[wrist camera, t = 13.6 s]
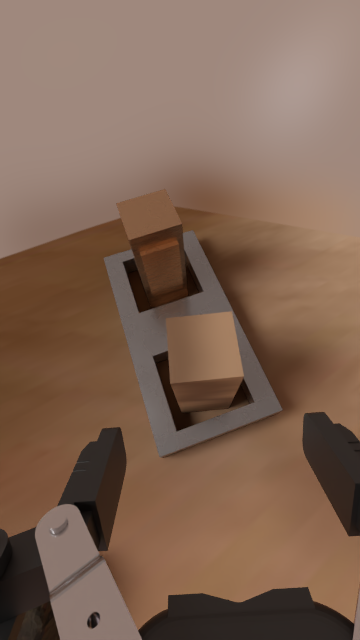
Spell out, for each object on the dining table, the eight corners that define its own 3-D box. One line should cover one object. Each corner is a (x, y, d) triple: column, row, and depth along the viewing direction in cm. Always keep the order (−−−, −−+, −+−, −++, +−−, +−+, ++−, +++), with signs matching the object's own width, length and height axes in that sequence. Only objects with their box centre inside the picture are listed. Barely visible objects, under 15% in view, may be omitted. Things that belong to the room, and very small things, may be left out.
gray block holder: (109, 269, 32) (73, 193, 23) (193, 242, 33) (190, 160, 24) (162, 457, 23) (138, 453, 14) (276, 414, 24) (321, 383, 15)
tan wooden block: (220, 359, 26) (230, 305, 17) (228, 408, 24) (244, 376, 15) (177, 363, 26) (165, 312, 17) (181, 412, 24) (170, 383, 15)
